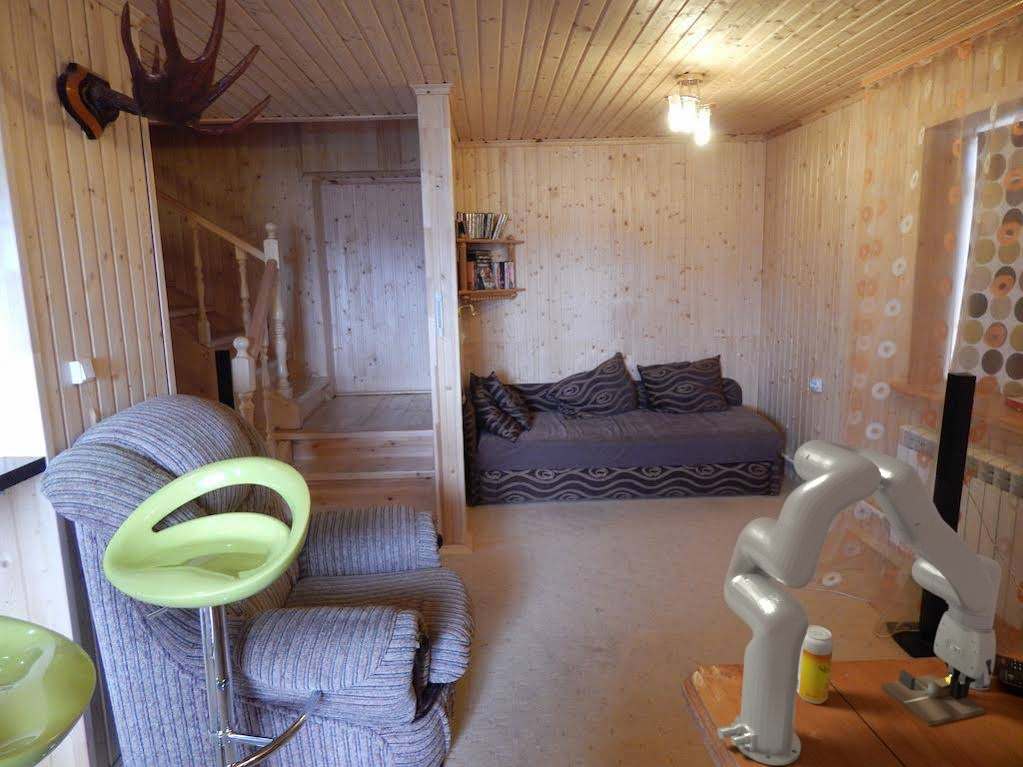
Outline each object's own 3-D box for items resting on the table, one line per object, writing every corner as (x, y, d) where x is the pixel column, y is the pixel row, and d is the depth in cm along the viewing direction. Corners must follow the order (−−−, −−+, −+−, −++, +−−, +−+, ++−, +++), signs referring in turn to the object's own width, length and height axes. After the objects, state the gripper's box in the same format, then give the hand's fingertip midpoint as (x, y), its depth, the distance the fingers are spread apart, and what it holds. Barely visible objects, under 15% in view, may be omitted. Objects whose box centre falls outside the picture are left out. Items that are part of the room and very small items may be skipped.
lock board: (928, 726, 131) (931, 708, 130) (881, 688, 142) (882, 672, 142) (983, 713, 135) (986, 695, 134) (932, 677, 146) (934, 661, 145)
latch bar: (940, 697, 138) (942, 682, 137) (932, 691, 140) (933, 676, 139) (958, 691, 139) (960, 677, 139) (949, 686, 141) (951, 671, 141)
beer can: (830, 707, 137) (837, 641, 134) (799, 703, 138) (805, 638, 135) (823, 688, 143) (829, 625, 140) (793, 685, 144) (798, 622, 141)
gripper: (924, 599, 140) (913, 677, 143) (991, 638, 125) (976, 723, 129) (952, 595, 142) (940, 672, 145) (1021, 633, 127) (1006, 717, 131)
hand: (957, 696), depth 137 cm, fingers closed
